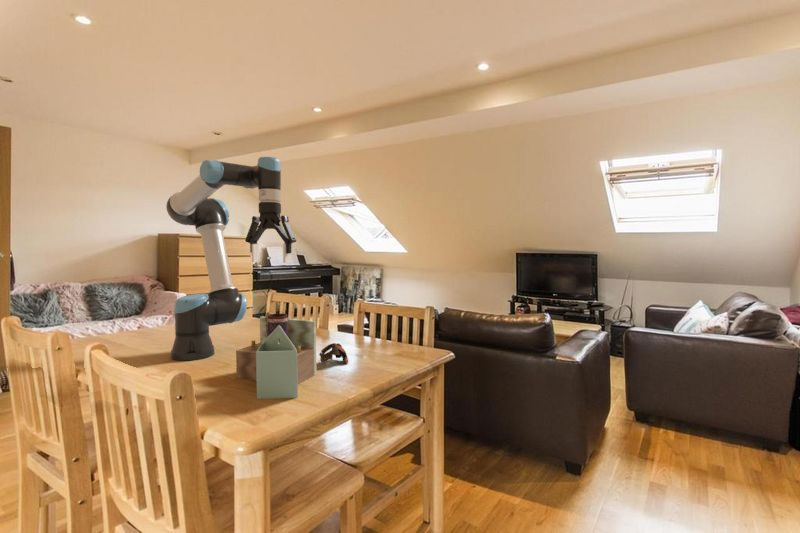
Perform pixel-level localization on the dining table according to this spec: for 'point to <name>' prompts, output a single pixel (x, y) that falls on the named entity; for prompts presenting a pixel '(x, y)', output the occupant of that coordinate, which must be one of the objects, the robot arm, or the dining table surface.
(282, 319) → the mug
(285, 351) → the planter
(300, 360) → the wall shelf
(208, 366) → the dining table surface
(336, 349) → the brown arched figurine
